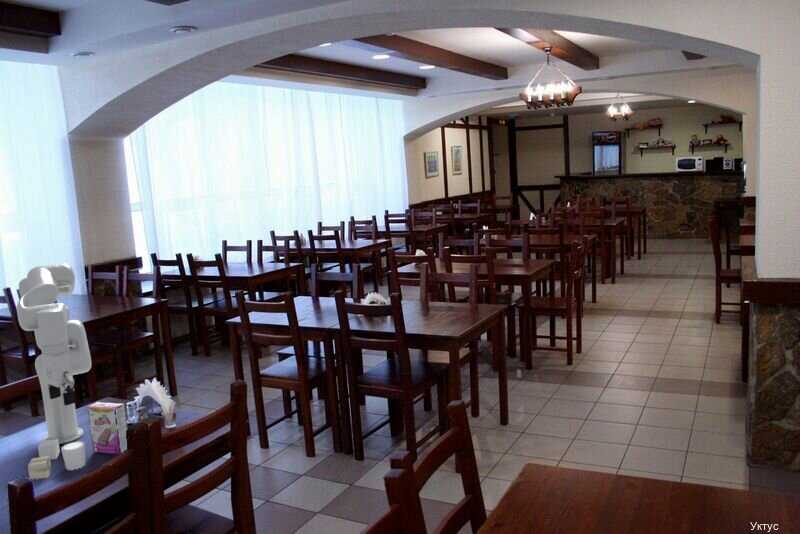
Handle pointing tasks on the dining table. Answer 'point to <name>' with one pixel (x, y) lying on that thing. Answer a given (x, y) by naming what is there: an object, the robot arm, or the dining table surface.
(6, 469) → the dining table surface
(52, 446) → the grey block
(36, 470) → the birch block
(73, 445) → the white cup
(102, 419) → the candy bar box
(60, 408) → the robot arm
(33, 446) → the dining table surface
